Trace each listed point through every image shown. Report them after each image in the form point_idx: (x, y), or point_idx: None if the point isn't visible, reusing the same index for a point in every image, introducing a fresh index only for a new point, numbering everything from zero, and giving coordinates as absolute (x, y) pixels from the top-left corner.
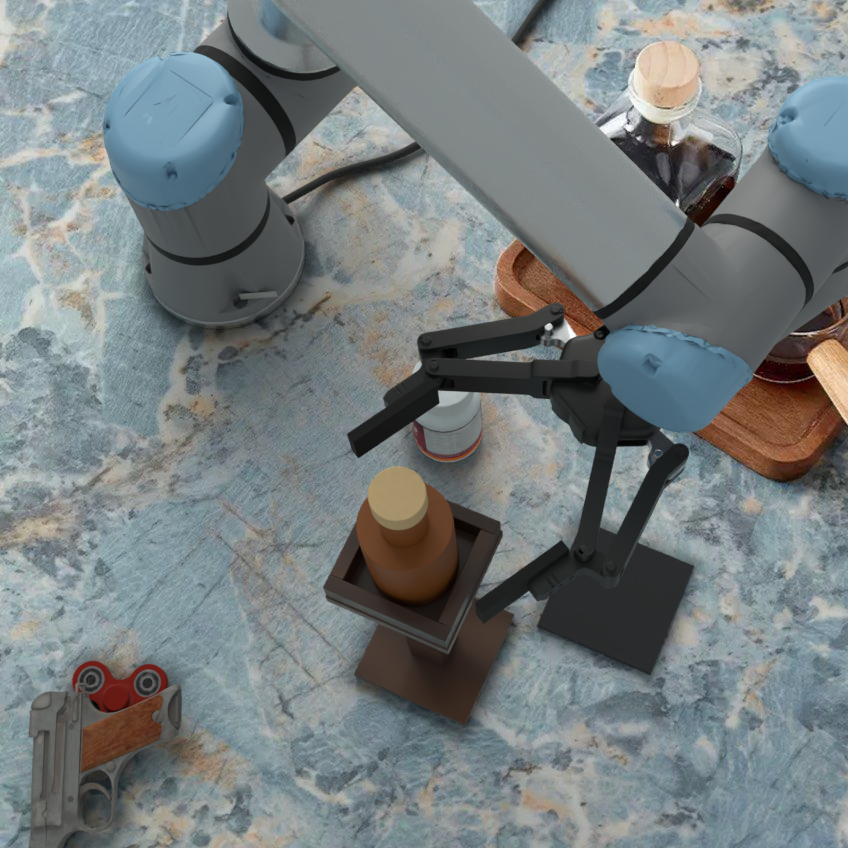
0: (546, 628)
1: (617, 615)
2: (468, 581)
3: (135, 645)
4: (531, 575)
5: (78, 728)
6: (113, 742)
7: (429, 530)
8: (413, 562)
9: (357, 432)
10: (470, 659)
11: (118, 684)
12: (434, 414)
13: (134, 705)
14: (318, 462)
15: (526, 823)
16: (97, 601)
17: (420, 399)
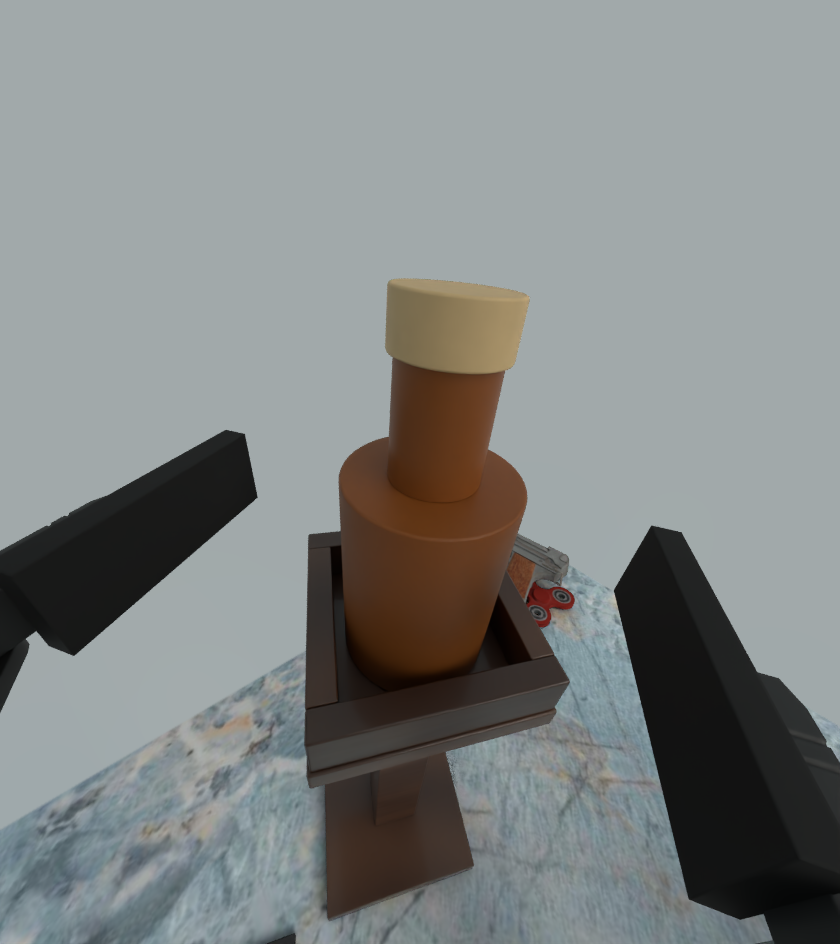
0: (280, 939)
1: None
2: (314, 607)
3: (567, 632)
4: (124, 488)
5: (537, 562)
6: (516, 567)
7: (387, 482)
8: (377, 447)
9: (675, 542)
10: (349, 807)
11: (548, 601)
12: None
13: (528, 586)
14: (662, 937)
15: (241, 702)
16: (612, 640)
17: (732, 743)
